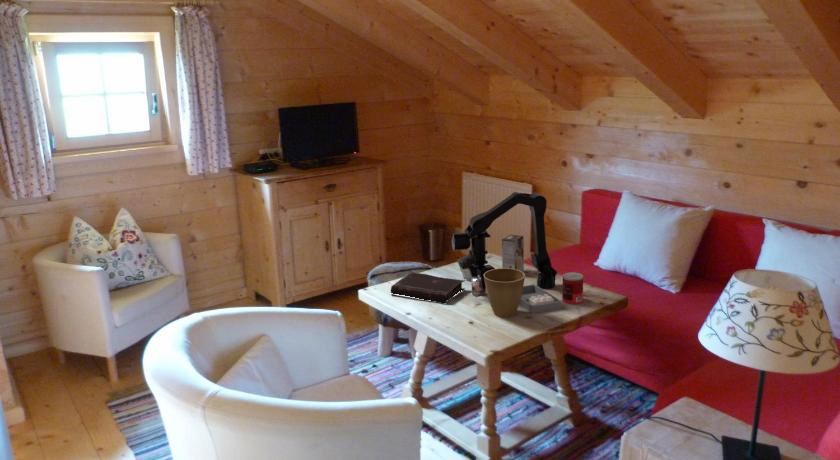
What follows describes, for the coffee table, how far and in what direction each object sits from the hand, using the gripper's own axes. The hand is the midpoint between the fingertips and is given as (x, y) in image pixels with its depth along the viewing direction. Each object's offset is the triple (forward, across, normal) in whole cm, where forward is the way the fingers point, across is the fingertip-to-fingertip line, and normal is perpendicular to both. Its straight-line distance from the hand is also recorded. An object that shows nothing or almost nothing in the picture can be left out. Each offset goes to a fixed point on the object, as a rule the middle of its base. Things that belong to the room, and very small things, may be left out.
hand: (479, 285), depth 266 cm
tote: (+4, +18, +15) cm, 23 cm away
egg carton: (+3, +24, +15) cm, 28 cm away
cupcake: (+4, -20, +5) cm, 21 cm away
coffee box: (+4, -19, +25) cm, 32 cm away
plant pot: (+4, +24, 0) cm, 24 cm away
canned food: (+4, +23, +29) cm, 37 cm away
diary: (+5, -11, -18) cm, 21 cm away
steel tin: (+4, 0, 0) cm, 4 cm away
